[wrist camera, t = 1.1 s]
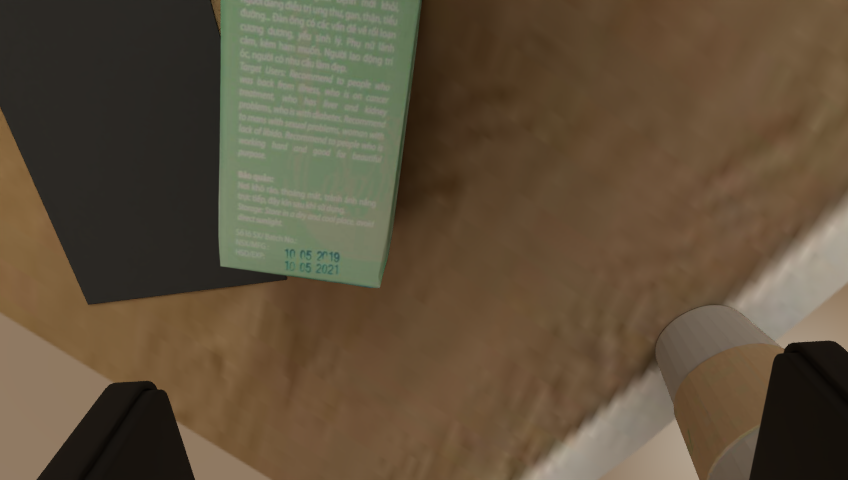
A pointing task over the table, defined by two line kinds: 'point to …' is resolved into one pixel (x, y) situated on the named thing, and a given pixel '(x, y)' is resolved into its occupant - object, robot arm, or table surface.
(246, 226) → the box
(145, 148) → the mat
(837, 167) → the table surface
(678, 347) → the coffee cup
